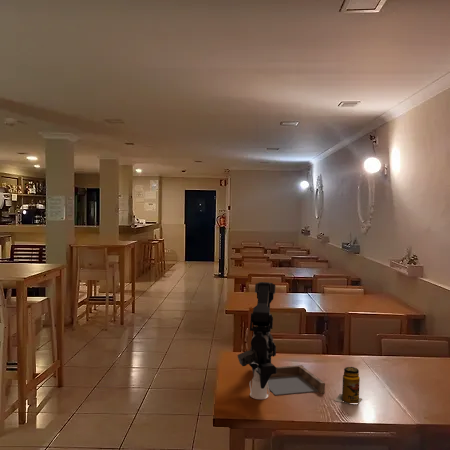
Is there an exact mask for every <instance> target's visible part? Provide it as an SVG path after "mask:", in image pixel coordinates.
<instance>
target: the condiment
mask: <svg viewBox="0 0 450 450" xmlns="http://www.w3.org/2000/svg"><path fill="white" fill-rule="evenodd" d="M359 372H360V371H359V368H357V367H354V366H345V367H344V369H343V375H342V393H339V394H338V395H337V397H336V398H335V399H334V400H333V401H335V402H339V403H344V402H346V403H344V404H347V403H358V404H357V406H358V405H359V404H360V403H361V401H362V399H363V398H361V397H360V381H361V380H360V376H359V374H360V373H359ZM342 401H344V402H342Z"/></svg>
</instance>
